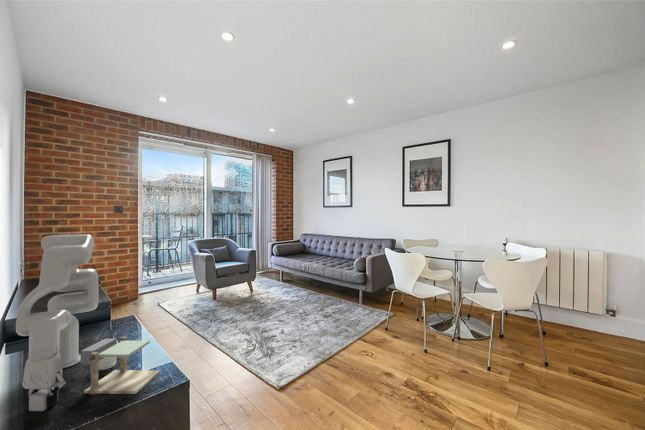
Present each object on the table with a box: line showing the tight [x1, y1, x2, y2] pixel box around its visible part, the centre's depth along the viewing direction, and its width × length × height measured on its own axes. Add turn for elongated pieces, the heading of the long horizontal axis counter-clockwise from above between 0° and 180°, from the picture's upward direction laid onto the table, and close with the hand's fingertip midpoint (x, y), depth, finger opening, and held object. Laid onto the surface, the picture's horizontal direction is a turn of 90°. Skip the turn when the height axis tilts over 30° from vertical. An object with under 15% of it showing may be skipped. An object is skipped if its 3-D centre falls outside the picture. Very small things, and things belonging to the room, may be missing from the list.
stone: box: [28, 386, 59, 412], centre depth 94 cm, size 5×5×5 cm
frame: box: [83, 336, 161, 395], centre depth 107 cm, size 20×17×15 cm
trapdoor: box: [80, 338, 151, 365], centre depth 108 cm, size 19×12×5 cm, turn 87°
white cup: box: [99, 340, 119, 371], centre depth 120 cm, size 8×8×10 cm
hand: (43, 404), depth 94 cm, fingers open, 5 cm apart
